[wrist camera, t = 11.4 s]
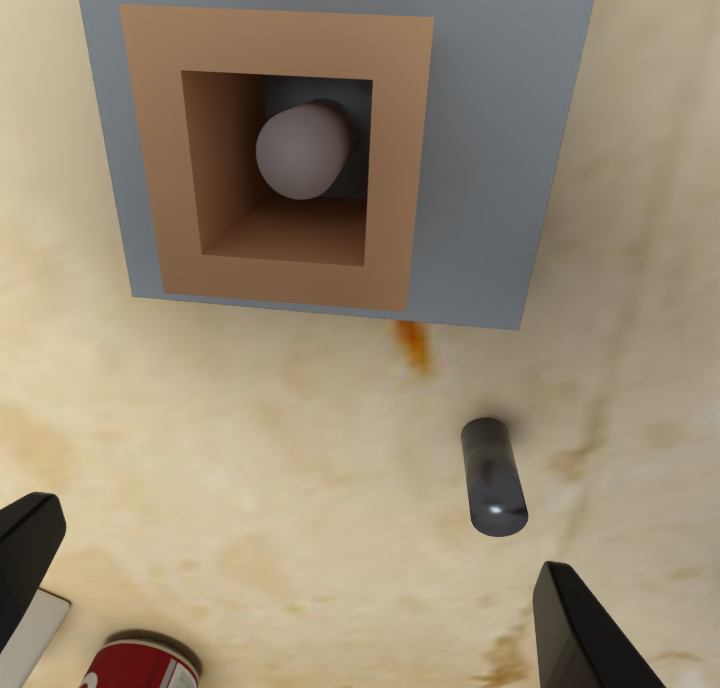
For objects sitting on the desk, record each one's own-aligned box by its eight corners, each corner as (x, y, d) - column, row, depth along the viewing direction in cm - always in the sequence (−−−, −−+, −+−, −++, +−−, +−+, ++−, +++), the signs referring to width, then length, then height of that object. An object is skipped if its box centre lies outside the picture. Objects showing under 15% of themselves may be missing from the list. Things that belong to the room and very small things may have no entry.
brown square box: (427, 32, 14) (434, 17, 9) (409, 232, 17) (406, 311, 12) (226, 24, 14) (119, 4, 9) (240, 221, 17) (164, 292, 12)
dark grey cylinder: (512, 420, 22) (533, 500, 18) (503, 456, 23) (521, 539, 19) (465, 416, 22) (475, 494, 18) (458, 452, 23) (466, 533, 19)
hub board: (600, -100, 14) (701, -185, 9) (511, 312, 19) (543, 395, 15) (87, -120, 14) (-78, -209, 10) (150, 281, 20) (68, 350, 15)
